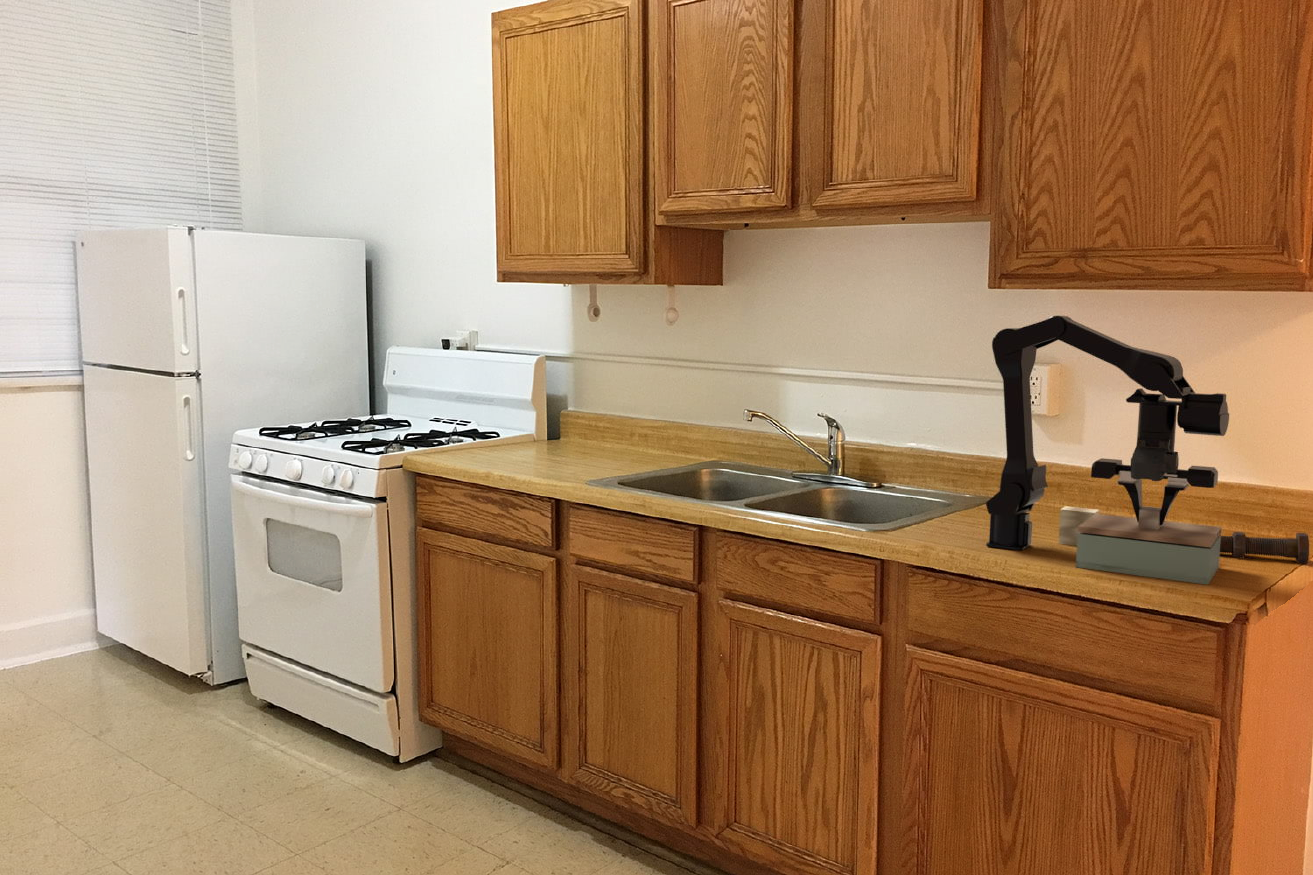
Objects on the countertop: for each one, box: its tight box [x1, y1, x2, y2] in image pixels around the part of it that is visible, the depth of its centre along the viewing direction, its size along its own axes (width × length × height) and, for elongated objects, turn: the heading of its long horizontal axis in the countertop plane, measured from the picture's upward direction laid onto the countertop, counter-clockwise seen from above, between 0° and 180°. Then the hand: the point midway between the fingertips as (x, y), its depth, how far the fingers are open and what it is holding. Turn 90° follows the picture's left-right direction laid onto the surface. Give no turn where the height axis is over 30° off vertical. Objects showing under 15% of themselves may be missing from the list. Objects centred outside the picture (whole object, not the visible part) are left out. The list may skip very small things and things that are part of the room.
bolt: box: [1220, 531, 1310, 565], centre depth 191 cm, size 6×5×15 cm
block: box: [1058, 506, 1100, 547], centre depth 201 cm, size 6×4×6 cm, turn 56°
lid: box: [1078, 505, 1223, 547], centre depth 182 cm, size 20×14×4 cm
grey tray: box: [1075, 532, 1222, 585], centre depth 185 cm, size 20×20×6 cm
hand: (1150, 523), depth 182 cm, fingers closed on lid, 3 cm apart
